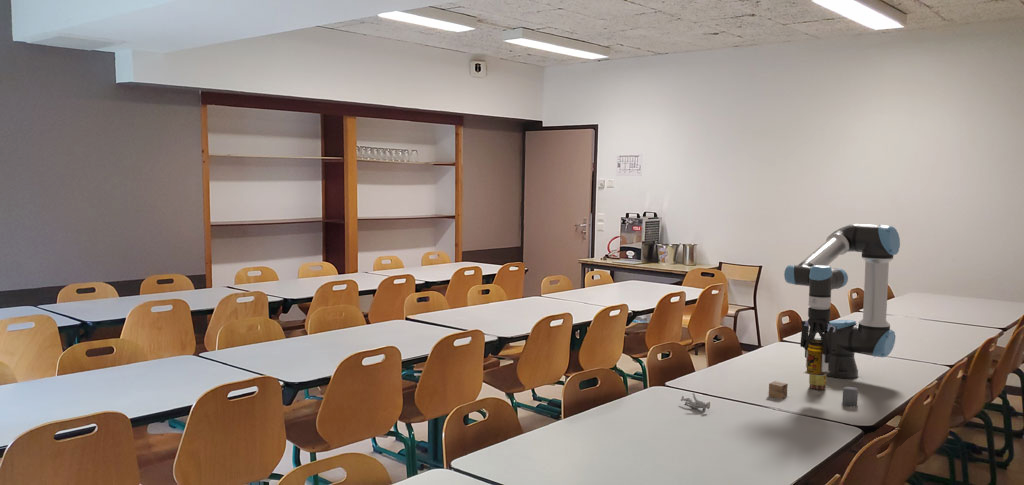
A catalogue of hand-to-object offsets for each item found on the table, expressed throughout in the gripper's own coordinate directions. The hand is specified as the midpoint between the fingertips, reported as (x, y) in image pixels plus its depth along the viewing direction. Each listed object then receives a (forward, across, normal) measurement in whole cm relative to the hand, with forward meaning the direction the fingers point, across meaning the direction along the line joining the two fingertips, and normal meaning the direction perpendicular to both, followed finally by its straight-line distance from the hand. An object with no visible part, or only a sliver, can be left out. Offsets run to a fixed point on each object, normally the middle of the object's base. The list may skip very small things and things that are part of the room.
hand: (816, 368), depth 271 cm
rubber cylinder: (+13, +8, +9) cm, 17 cm away
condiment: (+2, 0, 0) cm, 2 cm away
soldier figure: (+13, -16, -45) cm, 49 cm away
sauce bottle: (+13, -12, +17) cm, 24 cm away
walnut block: (+13, -12, -6) cm, 19 cm away
